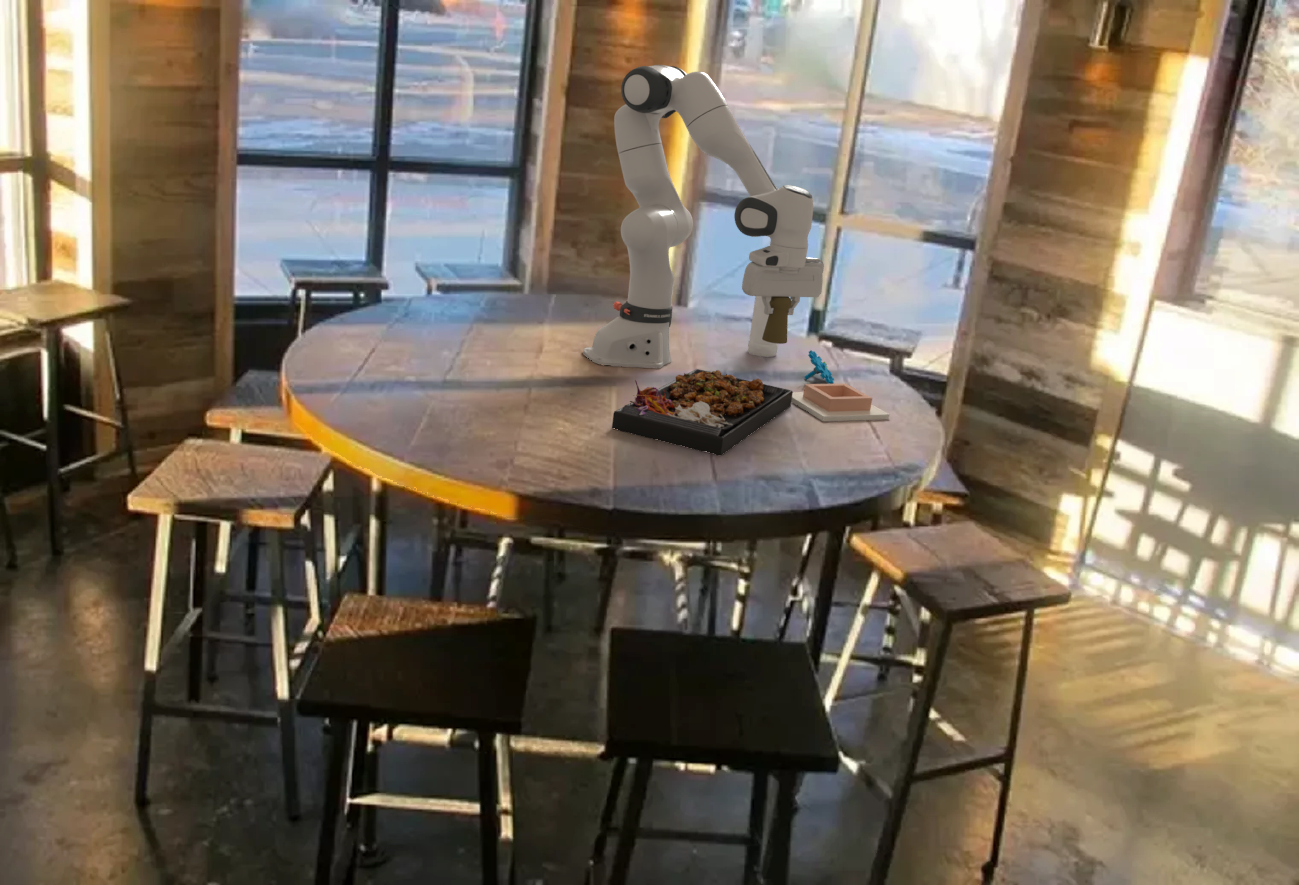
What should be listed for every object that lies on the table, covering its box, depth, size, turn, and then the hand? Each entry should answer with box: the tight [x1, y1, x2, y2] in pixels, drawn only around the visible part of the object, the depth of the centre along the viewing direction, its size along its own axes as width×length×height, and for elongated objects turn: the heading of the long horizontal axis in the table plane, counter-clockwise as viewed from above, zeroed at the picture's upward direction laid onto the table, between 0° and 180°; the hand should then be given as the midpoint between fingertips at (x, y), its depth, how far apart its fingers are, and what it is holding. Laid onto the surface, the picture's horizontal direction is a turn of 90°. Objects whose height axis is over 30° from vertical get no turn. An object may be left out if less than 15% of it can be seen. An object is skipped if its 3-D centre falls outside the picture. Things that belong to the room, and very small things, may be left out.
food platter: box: [611, 368, 794, 456], centre depth 270 cm, size 45×25×10 cm, turn 156°
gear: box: [803, 349, 835, 384], centre depth 310 cm, size 11×6×10 cm
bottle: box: [747, 296, 779, 358], centre depth 327 cm, size 8×8×30 cm
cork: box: [762, 296, 792, 345], centre depth 292 cm, size 6×6×11 cm
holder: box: [791, 383, 891, 422], centre depth 288 cm, size 18×18×4 cm
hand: (778, 314), depth 292 cm, fingers closed on cork, 4 cm apart
